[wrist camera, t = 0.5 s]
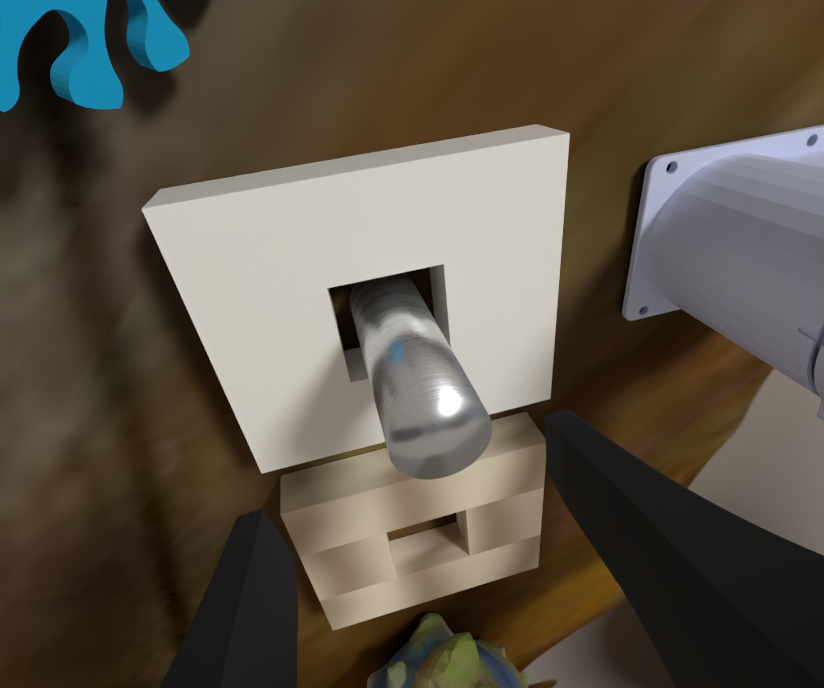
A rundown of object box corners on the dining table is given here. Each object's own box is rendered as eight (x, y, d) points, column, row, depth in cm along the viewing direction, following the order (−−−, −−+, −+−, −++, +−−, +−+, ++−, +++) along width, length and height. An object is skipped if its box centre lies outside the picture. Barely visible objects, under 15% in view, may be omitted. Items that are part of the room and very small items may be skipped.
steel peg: (412, 260, 19) (491, 386, 12) (419, 320, 21) (493, 463, 13) (342, 274, 19) (380, 414, 11) (356, 334, 20) (396, 490, 13)
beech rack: (526, 411, 26) (547, 442, 24) (522, 534, 32) (538, 566, 30) (280, 475, 24) (280, 514, 22) (329, 592, 31) (333, 630, 29)
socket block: (536, 124, 17) (569, 133, 15) (527, 369, 24) (550, 398, 22) (160, 189, 16) (141, 209, 14) (263, 435, 22) (261, 473, 20)
